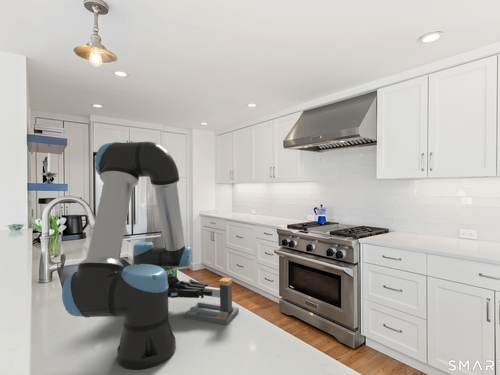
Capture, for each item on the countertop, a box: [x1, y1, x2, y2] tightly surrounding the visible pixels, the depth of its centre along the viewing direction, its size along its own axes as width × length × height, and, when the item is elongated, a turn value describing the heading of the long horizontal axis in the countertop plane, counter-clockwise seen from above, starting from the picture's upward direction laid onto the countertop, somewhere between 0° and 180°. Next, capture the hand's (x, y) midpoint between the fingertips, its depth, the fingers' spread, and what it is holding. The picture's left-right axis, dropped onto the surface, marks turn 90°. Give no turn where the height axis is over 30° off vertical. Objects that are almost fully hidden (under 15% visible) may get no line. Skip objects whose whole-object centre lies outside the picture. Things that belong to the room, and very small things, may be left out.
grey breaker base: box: [184, 301, 240, 326], centre depth 102 cm, size 10×16×3 cm, turn 69°
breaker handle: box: [218, 277, 233, 314], centre depth 100 cm, size 3×3×11 cm
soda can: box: [161, 267, 178, 278], centre depth 137 cm, size 8×8×12 cm
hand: (221, 293), depth 101 cm, fingers closed
